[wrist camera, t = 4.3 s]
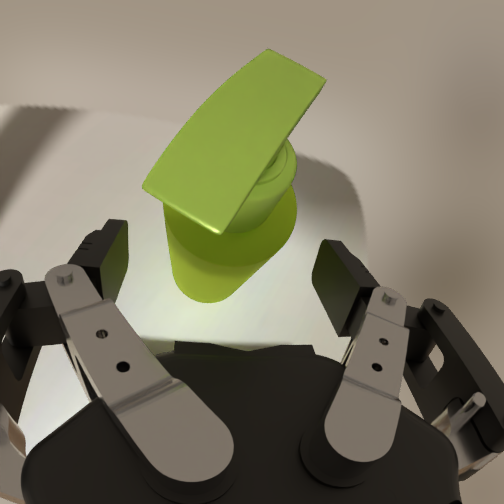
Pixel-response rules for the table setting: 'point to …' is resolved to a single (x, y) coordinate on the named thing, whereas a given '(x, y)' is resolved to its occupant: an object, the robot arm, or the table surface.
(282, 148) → the soap dispenser
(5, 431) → the robot arm
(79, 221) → the table surface
